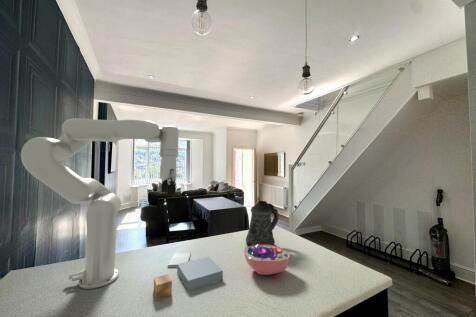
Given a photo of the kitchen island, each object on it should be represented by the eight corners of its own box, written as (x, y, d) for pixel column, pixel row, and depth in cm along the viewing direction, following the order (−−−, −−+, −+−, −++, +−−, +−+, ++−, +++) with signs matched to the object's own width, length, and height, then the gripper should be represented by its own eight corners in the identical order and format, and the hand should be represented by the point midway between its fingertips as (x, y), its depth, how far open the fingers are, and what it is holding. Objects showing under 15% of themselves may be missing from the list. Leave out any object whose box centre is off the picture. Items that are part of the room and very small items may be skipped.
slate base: (187, 292, 69) (188, 280, 69) (177, 273, 81) (177, 264, 81) (222, 280, 76) (222, 270, 77) (208, 265, 88) (208, 256, 88)
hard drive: (186, 264, 86) (190, 252, 98) (167, 265, 85) (174, 252, 97) (186, 268, 86) (190, 255, 98) (167, 269, 85) (174, 255, 97)
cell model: (291, 286, 73) (291, 256, 73) (239, 279, 77) (240, 250, 77) (289, 265, 89) (289, 240, 90) (246, 259, 93) (246, 236, 94)
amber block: (155, 300, 64) (156, 285, 64) (153, 292, 68) (154, 277, 68) (171, 295, 66) (172, 280, 67) (168, 287, 71) (168, 273, 71)
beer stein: (240, 246, 110) (240, 201, 111) (257, 236, 125) (258, 197, 126) (265, 254, 100) (266, 205, 101) (281, 243, 115) (282, 200, 116)
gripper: (155, 154, 91) (154, 191, 90) (165, 152, 77) (164, 196, 76) (172, 155, 95) (171, 190, 95) (184, 153, 81) (182, 194, 80)
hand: (168, 192), depth 85 cm, fingers open, 9 cm apart
